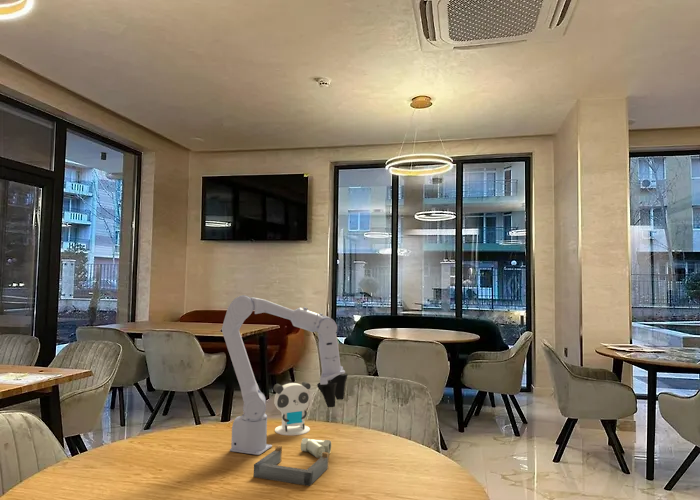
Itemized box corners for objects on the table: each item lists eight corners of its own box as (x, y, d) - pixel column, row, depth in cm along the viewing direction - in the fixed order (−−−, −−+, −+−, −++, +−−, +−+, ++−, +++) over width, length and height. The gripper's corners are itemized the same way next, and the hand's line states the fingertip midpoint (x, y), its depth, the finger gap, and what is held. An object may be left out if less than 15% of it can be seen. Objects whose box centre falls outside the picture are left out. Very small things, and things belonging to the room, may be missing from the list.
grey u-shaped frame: (253, 477, 119) (254, 461, 119) (276, 460, 130) (276, 445, 130) (309, 485, 114) (310, 469, 114) (328, 467, 125) (328, 452, 126)
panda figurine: (278, 437, 150) (279, 388, 151) (268, 427, 160) (270, 381, 161) (314, 433, 155) (315, 385, 156) (303, 423, 165) (304, 379, 166)
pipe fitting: (325, 461, 132) (331, 451, 138) (325, 447, 132) (331, 437, 138) (297, 458, 133) (304, 449, 140) (297, 444, 133) (304, 435, 140)
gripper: (333, 361, 136) (340, 410, 135) (350, 351, 150) (356, 395, 149) (310, 362, 138) (316, 410, 137) (329, 352, 152) (334, 396, 151)
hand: (335, 402), depth 143 cm, fingers open, 7 cm apart
